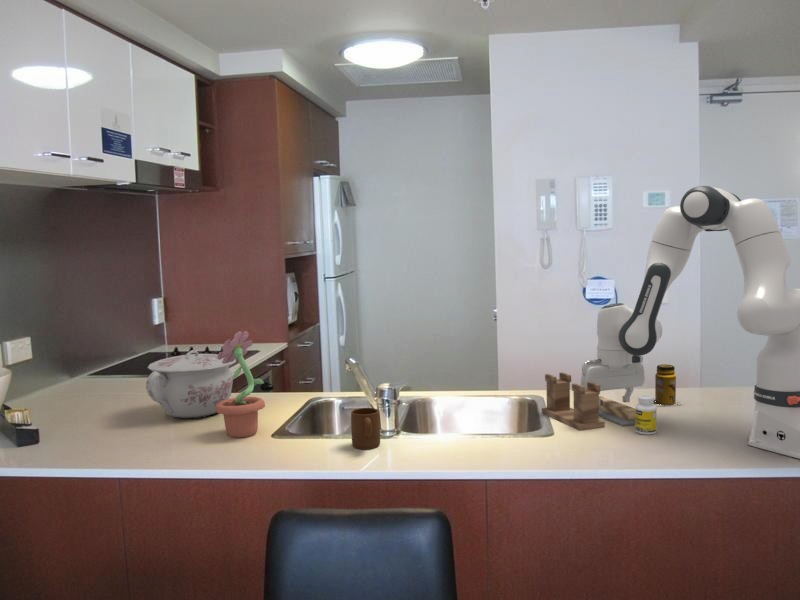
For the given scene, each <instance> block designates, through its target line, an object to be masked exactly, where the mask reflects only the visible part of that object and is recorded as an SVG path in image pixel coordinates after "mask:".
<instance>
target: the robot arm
mask: <svg viewBox="0 0 800 600" xmlns="http://www.w3.org/2000/svg"><path fill="white" fill-rule="evenodd" d="M703 231H704V232H723V231H728V232H729V234H730V235H731V238H732V242H733V244H734V247H735V250H736V253H737V256H738V261H739V263H740V266H741V269H742V274H743V285H744V286H743V289H744V291H743V297H742V299H741V301H740V303H739V304H738V308H737V312H736V314H737V315H736V316H737V321H738V323H739V325H740V327H741V328H742V329H743V330H744V331H746V332H747V333H750V334H754V335H757V336H758V335H759V336H764V337H765V336H767V340H766V342H765V344H764V346H763V347H762V348H761V350H760V351H759V352H758V354H757V356H756V379H755V380H756V384H755V385H754V390H753V394H754V395H753V399H754V401H755V405H754V409H753V416H752V423H751V428H750V432H749V434H748V436H747V438H748V443H747V444H748V446H752V447H755V448H758V449H762V450H766V451H770V452H773V453H777V454H780V455H784V456H787V457H791V458H792V457H793V458H795V459H800V288H787V284H786V272H787V270H788V268H789V266H790V264H791V259H790V256H789V253H788V250H787V247H786V244H785V241H784V237H783V235H782V232H781V228H780V227H779V224H778V222H777V219H776V218H775V216H774V214H773V212H772V211H771V208H770V207H769V205H768V204H767V202H766V201H765V200H762V199H761V198H753V197H751V198H745V199H741V198H740V197H739V196H737V195H736V194H735V193H732V192H728V191H727V190H724V189H722V188H719V187H713V186H710V185H698V186H695V187H692V188H690V189H689V190H687V191H686V192H685V193H684V194H683V196H682V198H681V200H680V205H675V206H670V207H668V208H667V209H664V211H663V213H662V215H661V216H660V218H659V220H658V223H657V224H656V226H655V229H654V232H653V234H652V237H651V240H650V244H649V247H648V251H647V255H646V256H647V257H646V263H645V271H644V277H643V283H642V287H641V290H640V292H639V295H638V298H637V300H636V304H635V306H634V309H633V308H630V307H629V306H628V305H627V304H625V303H622V302H619V303H611V304H606V305H603V306H602V307H601V308H600V309H599V310H598V313H597V320H596V336H597V340H598V342H597V346H596V359H593V360H591V359H590V360H589V359H588V360H586V361H585V362H584V363H583V364H581V378H580V385H581V386H584V387H585V389H587V382H592V383H595V384H598V385H600V392H599V396H601V392H603V391H610V390H611V391H612V390H622V389H625V390H626V391H625V392H624V395H622V397H621V398H622V402H623V403H630V401H631V396H632V394H633V392H634V388H637V387H642V386H643V385H644V384H645V376H646V375H645V367H644V365H643V364H642V363H643V362H644V357H643V356H644V355H647V354H649V353H650V352H652V351H653V349H654V348H655V346H656V345H657V343H658V342H659V341H660V339H661V337H662V335H663V327H662V324H661V322H660V321H659V320H658V319H657V318H658V316H659V312H660V308H661V306H662V303H663V299H664V298H665V295H666V292H667V291H668V290H669V288H670V286H671V285H672V284H673V283H674V281H675V280H676V279H678V277H679V276H680V275H681V274H682V272H683V270H684V268H685V267H686V265H687V263H688V260H689V258H690V255H691V253H692V249H693V246H694V244H695V239H696V238H697V236H698V235H699V233H701V232H703ZM601 405H603V400H602V399H600V397H599V406H601Z"/></svg>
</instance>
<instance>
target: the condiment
mask: <svg viewBox="0 0 800 600" xmlns="http://www.w3.org/2000/svg"><path fill="white" fill-rule="evenodd" d="M654 378H655V383H654V384H655V387H654V388H655V389H654V390H655V394H654V397H655V399H654V403H653V405H655V406H656V407H665V406H666V407H668V406H669V405H671V406H680V405H682V404H680V403H679V402H676V401H677V400H676V396H677V395H676V391H677V390H676V389H677V376H676V371H675V365H672V364H658V365H657V366H656V373H655V377H654ZM655 401H656V402H655ZM657 404H659V405H657ZM660 404H661V405H660ZM674 404H675V405H674ZM677 404H678V405H677ZM664 405H665V406H664ZM667 405H668V406H667Z"/></svg>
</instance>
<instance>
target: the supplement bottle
mask: <svg viewBox="0 0 800 600" xmlns="http://www.w3.org/2000/svg"><path fill="white" fill-rule="evenodd" d="M654 397H655V396H651V395H639V396H638V397H637V398H638V399H637V400H638V403H637V404H636V405H635V409H636V423H635V425H634V427H635V428H634V429H635V432H636V433H637V434H641V435H648V436H649V435H650V436H651V435H655V434H656V433H657V406H655V405H653V403H654V400H655V399H654Z"/></svg>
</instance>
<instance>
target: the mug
mask: <svg viewBox="0 0 800 600" xmlns="http://www.w3.org/2000/svg"><path fill="white" fill-rule="evenodd" d="M380 418H381V417H380V411H379V409H377V408H373V407H361V408H355V409H353V410H351V413H350V425H351V426H350V427H351V428H350V429H351V430H350V431H351V444H352V447H353V448H355V449H357V450H372V449H375V448H378V447H379V446H380V445H381V423H380V421H381V420H380Z"/></svg>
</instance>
